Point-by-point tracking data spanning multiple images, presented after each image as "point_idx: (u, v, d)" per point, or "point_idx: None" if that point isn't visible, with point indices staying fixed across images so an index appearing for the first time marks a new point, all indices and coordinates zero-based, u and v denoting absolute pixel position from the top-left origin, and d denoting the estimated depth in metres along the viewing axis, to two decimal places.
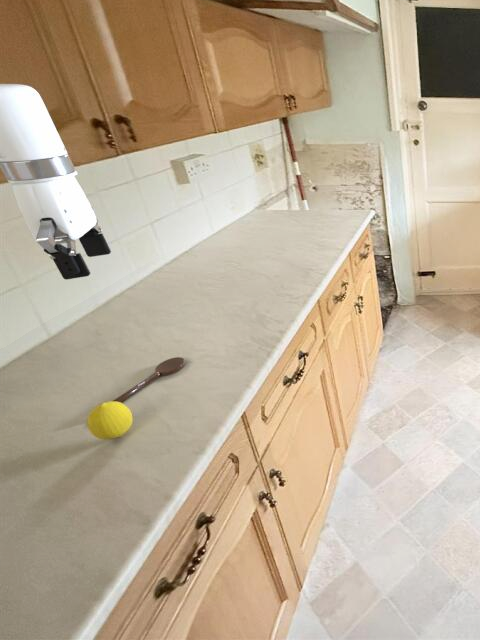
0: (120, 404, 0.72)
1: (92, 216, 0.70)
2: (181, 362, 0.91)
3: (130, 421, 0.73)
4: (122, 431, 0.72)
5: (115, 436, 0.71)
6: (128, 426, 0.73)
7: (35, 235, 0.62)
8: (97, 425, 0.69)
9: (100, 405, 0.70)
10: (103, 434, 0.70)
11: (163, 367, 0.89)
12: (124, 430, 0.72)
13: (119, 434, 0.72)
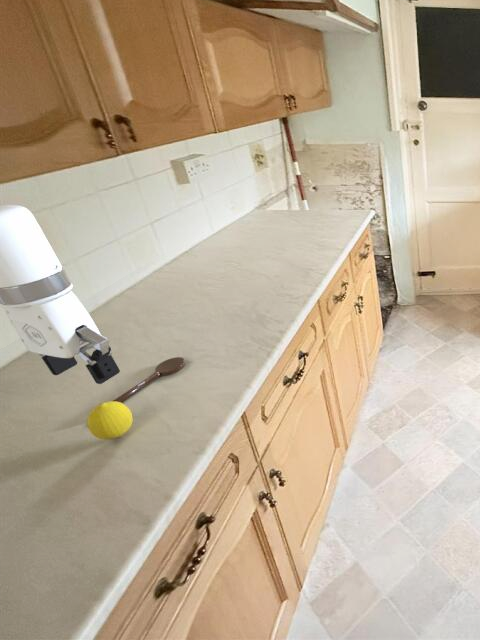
0: (120, 404, 0.72)
1: None
2: (181, 362, 0.91)
3: (130, 421, 0.73)
4: (122, 431, 0.72)
5: (115, 436, 0.71)
6: (128, 426, 0.73)
7: (71, 347, 0.61)
8: (97, 425, 0.69)
9: (100, 405, 0.70)
10: (103, 434, 0.70)
11: (163, 367, 0.89)
12: (124, 430, 0.72)
13: (119, 434, 0.72)
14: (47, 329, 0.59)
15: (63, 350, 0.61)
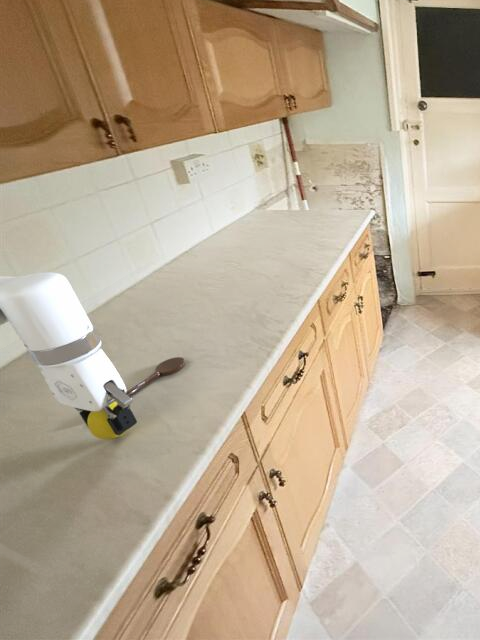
0: None
1: None
2: (181, 362, 0.91)
3: None
4: None
5: (115, 436, 0.71)
6: None
7: (99, 402, 0.66)
8: (97, 425, 0.69)
9: None
10: (103, 434, 0.70)
11: (163, 367, 0.89)
12: None
13: None
14: (78, 386, 0.64)
15: (92, 404, 0.65)
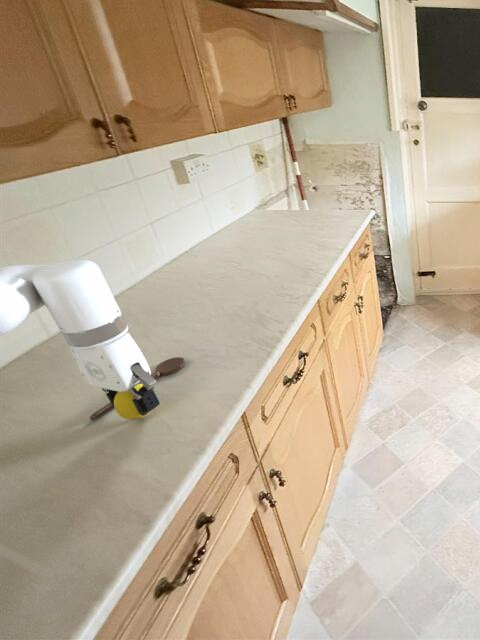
0: None
1: None
2: (181, 362, 0.91)
3: None
4: None
5: (139, 416, 0.75)
6: None
7: (127, 383, 0.70)
8: (123, 405, 0.73)
9: None
10: (128, 414, 0.74)
11: (163, 367, 0.89)
12: None
13: None
14: (108, 367, 0.68)
15: (120, 385, 0.69)
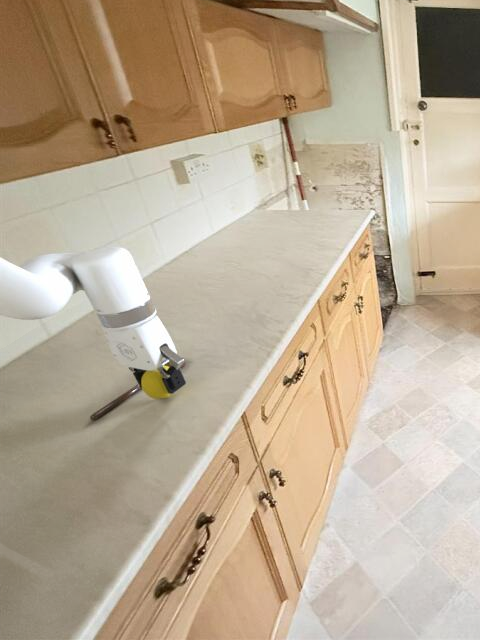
0: None
1: None
2: None
3: None
4: None
5: (165, 396, 0.80)
6: None
7: (156, 362, 0.75)
8: (150, 385, 0.78)
9: None
10: (155, 393, 0.78)
11: None
12: None
13: (168, 394, 0.80)
14: (139, 347, 0.73)
15: (150, 364, 0.74)
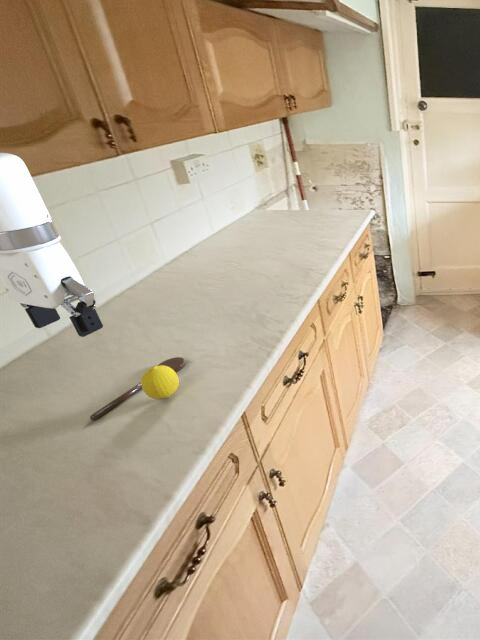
0: (169, 368, 0.81)
1: None
2: (181, 362, 0.91)
3: (177, 383, 0.82)
4: (171, 392, 0.80)
5: (165, 396, 0.80)
6: (175, 388, 0.81)
7: (56, 297, 0.62)
8: (150, 385, 0.78)
9: (153, 368, 0.79)
10: (155, 393, 0.78)
11: None
12: (172, 391, 0.81)
13: (168, 394, 0.80)
14: (33, 277, 0.60)
15: (48, 299, 0.62)
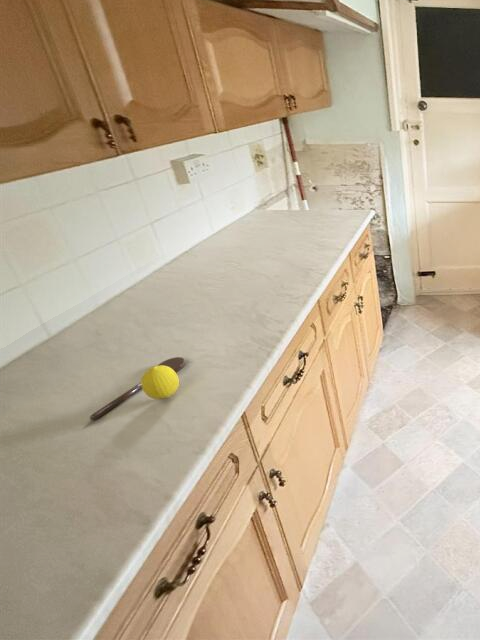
0: (169, 368, 0.81)
1: None
2: (181, 362, 0.91)
3: (177, 383, 0.82)
4: (171, 392, 0.80)
5: (165, 396, 0.80)
6: (175, 388, 0.81)
7: None
8: (150, 385, 0.78)
9: (153, 368, 0.79)
10: (155, 393, 0.78)
11: None
12: (172, 391, 0.81)
13: (168, 394, 0.80)
14: None
15: None
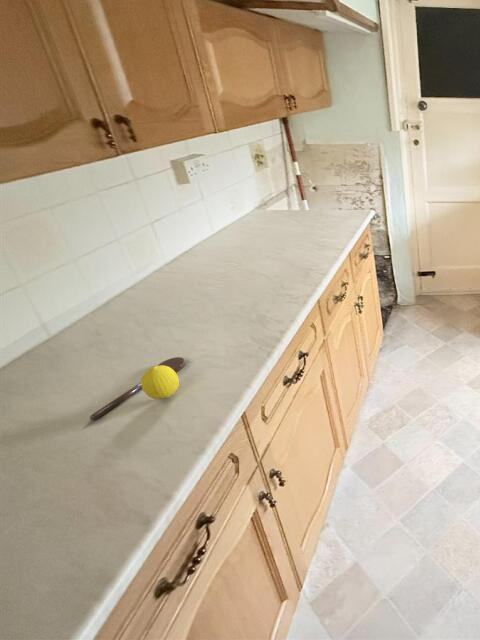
0: (169, 368, 0.81)
1: None
2: (181, 362, 0.91)
3: (177, 383, 0.82)
4: (171, 392, 0.80)
5: (165, 396, 0.80)
6: (175, 388, 0.81)
7: None
8: (150, 385, 0.78)
9: (153, 368, 0.79)
10: (155, 393, 0.78)
11: None
12: (172, 391, 0.81)
13: (168, 394, 0.80)
14: None
15: None
